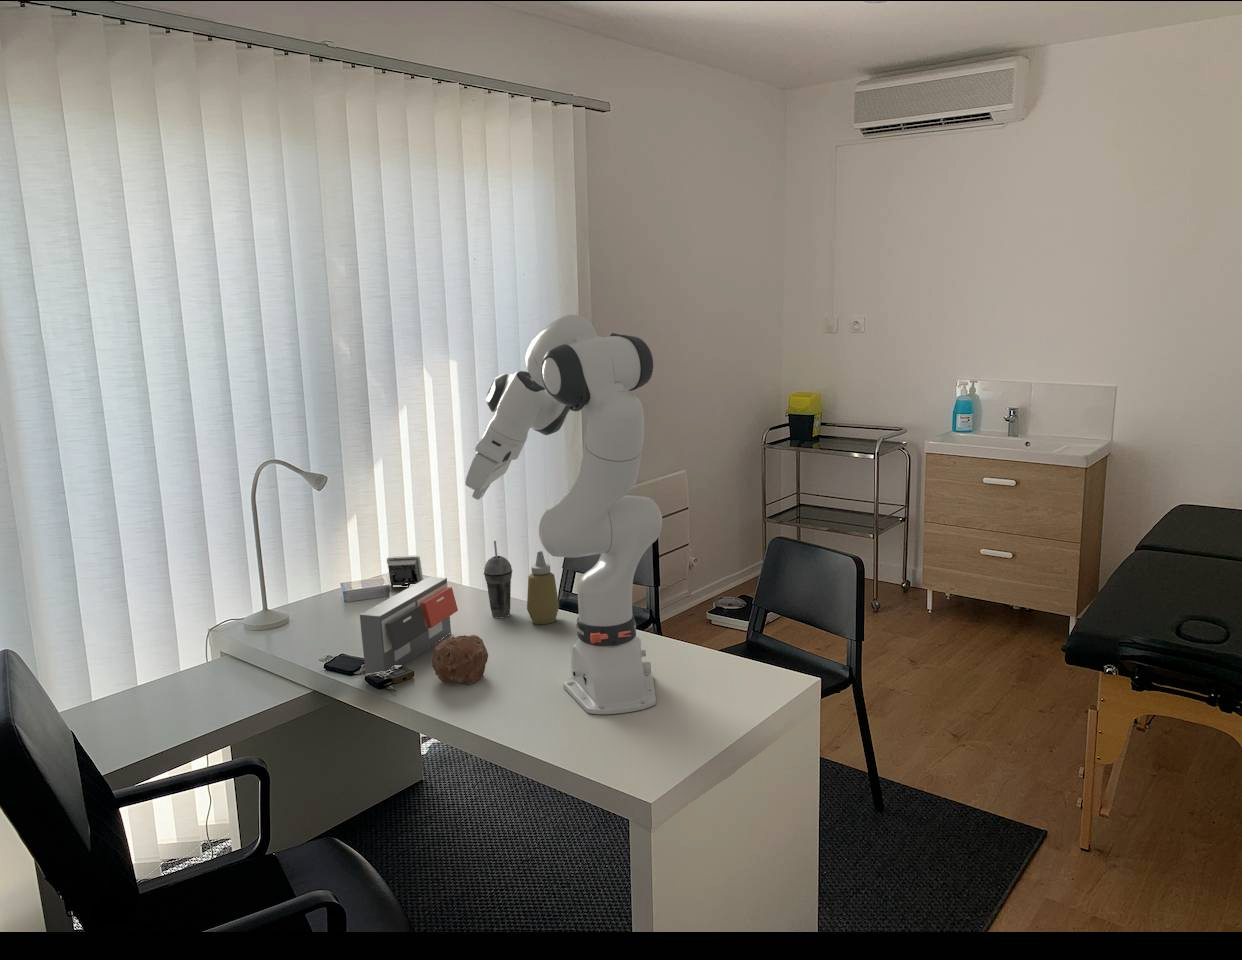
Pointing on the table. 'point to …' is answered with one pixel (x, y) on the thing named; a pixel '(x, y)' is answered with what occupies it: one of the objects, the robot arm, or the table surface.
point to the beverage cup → (498, 584)
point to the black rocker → (406, 627)
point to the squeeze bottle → (542, 593)
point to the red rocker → (439, 607)
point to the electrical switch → (404, 570)
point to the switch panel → (375, 619)
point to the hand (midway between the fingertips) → (477, 497)
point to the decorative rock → (460, 659)
